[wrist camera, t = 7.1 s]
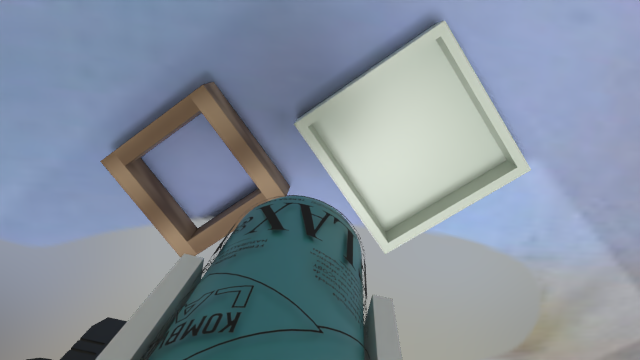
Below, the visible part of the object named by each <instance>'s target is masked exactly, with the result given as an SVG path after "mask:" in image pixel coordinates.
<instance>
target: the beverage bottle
mask: <svg viewBox="0 0 640 360" xmlns="http://www.w3.org/2000/svg"><path fill="white" fill-rule="evenodd" d="M285 196H286V197H281V196H278V197H280V198H276V199H272V200H270V201H267V202H265V203H262V204H260V205H258V206H257V207H255V208H254V209H253V210H251V209H250V208H249V209H250V210H251V211H250V210H249V211H250V212H249V213H248V214H247V215H245V216H244V217H243V219H242V220H241V221H240V223H239V224H238V225H237V227H236V228H235V230H234V231H233V233H232V234H231V236H230V238H229V239H228V240H227V242H226V243H225V245H223V248H222V249H221V251H220V252H219V254H218V256H217V257H216V258H215V260H214V259H213V260H214V262H213V263H211V266H210V267H209V268H208V270H207V269H206V270H207V272H206V273H205V275H204V277H203V278H202V279H201V281H200V282H199V283H198V284H197V285H196V286H197V287H196V286H195V287H196V288H195V287H194V288H195V290H194V291H193V293H192V294H191V296H190V297H189V299H188V300H187V302H186V303H185V305H184V306H182V307H183V308H182V307H181V308H182V309H181V311H180V312H179V314H178V311H179V310H178V311H177V314H176V318H175V320H174V321H173V323H172V324H171V326H170V327H169V329H168V330H167V332H166V333H165V335H164V336H163V338H162V339H161V341H160V342H159V343H158V345H157V346H156V347H155V345H156V344H157V342H158V341H159V339H160V338H159V339H158V340H156V339H157V338H158V337H159V336H160V334H159V333H162V332H159V333H158V334H159V336H158V335H157V336H158V337H157V336H156V337H155V338H156V339H154V340H153V341H155V340H156V341H155V342H156V344H155V345H154V346H153V345H151V346H149V348H150V349H151V347H152V346H153V348H154V347H155V348H154V350H153V348H152V349H151V351H152V350H153V351H152V352H151V351H150V352H151V354H150V352H149V354H150V355H151V356H150V355H149V354H148V355H149V356H150V357H149V359H148V360H365V357H364V349H365V347H364V329H365V327H364V323H363V320H364V318H363V316H364V314H363V310H364V308H363V306H365V305H364V304H363V287H364V286H362V284H363V282H362V281H363V280H362V269H363V266H362V255H361V248H360V244H359V241H358V239H357V236H356V234H355V231H354V230H353V229H352V227H351V226H350V224H349V223H348V222H347V220H346V219H345V218H344V217H343V216H344V215H343V214H342V213H341V212H340V213H341V214H342V215H343V216H342V215H341V214H340V213H339V212H337V211H338V210H337V209H336V210H337V211H336V210H335V208H334V207H333V208H332V206H330V205H328V204H326V203H324V202H322V201H320V200H317V199H314V198H310V197H305V196H297V195H285ZM273 198H275V197H273ZM270 199H271V198H270ZM267 200H268V199H267ZM264 201H265V200H264ZM262 202H263V201H262ZM259 203H260V202H259ZM257 204H258V203H257ZM252 207H253V206H252ZM245 212H246V211H245ZM246 213H247V212H246ZM246 213H245V214H246ZM243 215H244V214H243ZM243 215H242V216H243ZM242 216H241V217H242ZM239 219H240V218H239ZM348 221H349V220H348ZM236 222H237V221H236ZM349 222H350V221H349ZM350 223H351V222H350ZM351 224H352V223H351ZM234 226H235V225H234ZM234 226H233V227H234ZM233 227H232V228H231V230H232V229H233ZM353 227H354V226H353ZM231 230H230V231H229V233H230V232H231ZM229 233H228V234H227V235H226V237H225V238H224V240H223V241H222V243H221V244H220V245H219V247H218V248H217V250H216V251H215V252H214V254H215V253H216V252H217V251H218V249H219V248H221V247H222V244H223V242H224V241H225V239H226V238H227V236H228V235H229ZM208 264H209V263H208ZM208 264H207V265H208ZM207 265H206V266H207ZM365 266H366V265H365V261H364V268H365V272H364V276H365V288H364V290H365V294H366V295H365V296H366V298H367V288H366V267H365ZM204 270H205V268H204V269H203V271H204ZM203 271H202V272H203ZM203 273H204V272H203ZM200 274H202V273H200ZM198 276H199V275H198ZM195 281H196V280H195ZM194 288H193V289H194ZM193 289H192V290H193ZM192 290H191V291H192ZM191 291H190V292H191ZM190 292H189V293H190ZM189 293H188V294H189ZM188 294H187V295H188ZM187 295H186V296H187ZM365 302H366V301H365ZM180 303H181V302H180ZM177 307H178V306H177ZM174 314H175V313H174ZM174 314H173V315H174ZM173 315H172V317H173ZM367 315H368V314H367ZM172 317H171V318H172ZM169 319H170V317H169ZM366 319H367V316H366ZM170 320H171V319H170ZM170 320H169V321H170ZM365 321H366V320H365ZM365 321H364V322H365ZM168 323H169V322H168ZM168 323H167V324H168ZM366 324H367V321H366ZM164 326H165V324H164ZM164 326H163V327H164ZM166 326H167V325H166ZM166 326H165V327H166ZM163 327H162V329H163ZM366 328H368V327H366ZM164 329H165V328H164ZM164 329H163V330H164ZM161 331H162V330H161ZM366 335H367V332H366ZM367 338H368V337H367ZM155 342H153V344H154V343H155ZM150 349H149V350H150ZM149 350H146V351H147V352H148V351H149ZM365 350H366V349H365ZM147 352H146V353H147ZM366 352H367V353H368V351H367V350H366ZM146 353H144V354H146ZM148 355H147V357H148ZM144 356H145V355H144ZM144 356H142V358H143V359H142V360H145V359H146V358H147V357H146V358H145V359H144ZM368 356H369V354H368ZM369 359H370V357H369ZM140 360H141V359H140Z"/></svg>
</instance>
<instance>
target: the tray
mask: <svg viewBox="0 0 640 360" xmlns="http://www.w3.org/2000/svg"><path fill="white" fill-rule="evenodd" d="M294 125H295V126H296V128H297V129H298V131H299V132H300V133H301V135H302V136H303V138H304V139H305V141H306V142H307V143H308V145H309V146H310V148H311V149H312V151H313V152H314V153H315V155H316V156H317V158H318V159H319V161H320V162H321V163H322V165H323V166H324V168H325V169H326V171H327V172H328V173H329V175H330V176H331V178H332V179H333V181H334V182H335V183H336V185H337V186H338V188H339V189H340V190H341V192H342V193H343V195H344V196H345V198H346V199H347V200H348V202H349V203H350V205H351V206H352V208H353V209H354V210H355V212H356V213H357V215H358V216H359V218H360V219H361V220H362V222H363V223H364V225H365V226H366V228H367V229H368V230H369V232H370V233H371V234H372V236H373V237H374V239H375V240H376V242H377V243H378V245H379V246H380V247H381V249H382V250H383V252H384V253H385V254H387V253H388V252H390V251H392V250H393V249H395V248H397V247H399V246H401V245H402V244H404V243H406V242H407V241H409V240H411V239H413V238H414V237H416V236H418V235H420V234H421V233H423V232H425V231H426V230H428V229H430V228H432V227H433V226H435V225H437V224H439V223H440V222H442V221H444V220H445V219H447V218H449V217H451V216H452V215H454V214H456V213H458V212H459V211H461V210H463V209H464V208H466V207H468V206H470V205H471V204H473V203H475V202H477V201H478V200H480V199H482V198H483V197H485V196H487V195H489V194H490V193H492V192H494V191H496V190H497V189H499V188H501V187H502V186H504V185H506V184H508V183H509V182H511V181H513V180H515V179H516V178H518V177H520V176H521V175H523V174H525V173H527V172H528V171H530V170H531V169H530V167H529V165H528V164H527V162H526V160H525V159H524V157H523V155H522V153H521V152H520V150H519V148H518V146H517V145H516V143H515V141H514V139H513V138H512V136H511V134H510V133H509V131H508V129H507V127H506V126H505V124H504V122H503V120H502V119H501V117H500V115H499V113H498V112H497V110H496V108H495V107H494V105H493V103H492V101H491V100H490V98H489V96H488V94H487V93H486V91H485V89H484V87H483V86H482V84H481V82H480V81H479V79H478V77H477V75H476V74H475V72H474V70H473V68H472V67H471V65H470V63H469V61H468V60H467V58H466V56H465V55H464V53H463V51H462V49H461V48H460V46H459V44H458V42H457V41H456V39H455V37H454V35H453V34H452V32H451V30H450V29H449V27H448V25H447V23H446V22H445V21H442V22H438V23H436V24H434V25H433V26H432V27H430V28H429V29H427V30H426V31H424V32H423V33H421V34H420V35H418V36H417V37H416V38H414V39H413V40H411V41H410V42H408V43H407V44H405V45H404V46H402V47H401V48H400V49H398V50H397V51H395V52H394V53H392V54H391V55H389V56H388V57H387V58H385V59H384V60H382V61H381V62H379V63H378V64H376V65H375V66H373V67H372V68H371V69H369V70H368V71H366V72H365V73H363V74H362V75H360V76H359V77H357V78H356V79H355V80H353V81H352V82H350V83H349V84H347V85H346V86H344V87H343V88H341V89H340V90H339V91H337V92H336V93H334V94H333V95H331V96H330V97H328V98H327V99H326V100H324V101H323V102H321V103H320V104H318V105H317V106H315V107H314V108H312V109H311V110H310V111H308V112H307V113H305V114H304V115H302V116H301V117H299V118H298V119H297V120H296V122H295V123H294Z"/></svg>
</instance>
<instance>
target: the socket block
mask: <svg viewBox="0 0 640 360" xmlns="http://www.w3.org/2000/svg"><path fill="white" fill-rule="evenodd" d="M201 113H202V114H203V115H204V116H205V118H206V119H207V120H208V122H209V123H210V124H211V126H212V127H213V128H214V130H215V131H216V132H217V133H218V135H219V136H220V137H221V139H222V140H223V141H224V143H225V144H226V145H227V147H228V148H229V149H230V151H231V152H232V153H233V155H234V156H235V157H236V159H237V160H238V161H239V163H240V164H241V165H242V167H243V168H244V169H245V171H246V172H247V173H248V175H249V176H250V177H251V179H252V180H253V181H254V183H255V184H256V185H257V187H258V189H257V190H255V191H254V192H252V193H251V194H249V195H248V196H246V197H245V198H243V199H242V200H240V201H239V202H237V203H236V204H234V205H233V206H231V207H229V208H228V209H226V210H225V211H223V212H222V213H220V214H219V215H217V216H216V217H214V218H213V219H211V220H210V221H208V222H207V223H205V224H204V225H202V226H201V227H199V228H197V227H196V226H195V225H194V223H193V222H192V221H191V220H190V218H189V217H188V216H187V215H186V214H185V212H184V211H183V210H182V209H181V207H180V206H179V205H178V204H177V202H176V201H175V200H174V199H173V197H172V196H171V195H170V194H169V192H168V191H167V190H166V189H165V188H164V186H163V185H162V184H161V183H160V181H159V180H158V179H157V178H156V176H155V175H154V174H153V173H152V171H151V170H150V169H149V168H148V167H147V165H146V164H145V163H144V162H143V160H142V159H141V157H142V156H143V155H145V154H146V153H147V152H149V151H150V150H152V149H153V148H154V147H156V146H157V145H158V144H160V143H161V142H162V141H164V140H165V139H167V138H168V137H169V136H171V135H172V134H173V133H175V132H176V131H177V130H179V129H180V128H182V127H183V126H184V125H186V124H187V123H188V122H190V121H191V120H192V119H194V118H195V117H197V116H198V115H199V114H201ZM100 162H101V163H102V164H103V165H104V166H105V167H106V169H107V170H108V171H109V172H110V173H111V175H112V176H113V177H114V178H115V179H116V181H117V182H118V183H119V184H120V185H121V187H122V188H123V189H124V190H125V191H126V193H127V194H128V195H129V196H130V197H131V199H132V200H133V201H134V202H135V203H136V205H137V206H138V207H139V208H140V209H141V211H142V212H143V213H144V214H145V215H146V217H147V218H148V219H149V220H150V221H151V223H152V224H153V225H154V226H155V227H156V229H157V230H158V231H159V232H160V233H161V235H162V236H163V237H164V238H165V239H166V241H167V242H168V243H169V244H170V245H171V247H172V248H173V249H174V250H175V251H176V252H177V254H178V255H179V256H180V257H182V256H183V254H188V255H192V256H196V255H197V254H199V253H200V252H202V251H203V250H205V249H206V248H208V247H210V246H211V245H213V244H214V243H216V242H217V241H219V240H220V239H222V238H223V237H225V236H226V235H227V234H228V233H229V231H230V230H231V228H232V227H233V226H234V225H235V226H234V227H233V229H232V230H231V232H233V231H234V230H235V228H236V227H237V225H238V224H239V223H240V221H241V220H242V219H243V217H244V216H245V215H247V214H248V213H249V212H250V211H251V210H253V209H254V208H255V207H257V206H258V205H260V204H262V203H265V202H267V201H270V200H272V199H276V198H280V197H278V196H281V197H286V196H285V195H287V193H288V191H289V188H290V186H289V184H288V183H287V182H286V180H285V179H284V178H283V176H282V175H281V173H280V172H279V171H278V169H277V168H276V167H275V165H274V164H273V162H272V161H271V160H270V158H269V157H268V156H267V154H266V153H265V152H264V150H263V149H262V147H261V146H260V145H259V143H258V142H257V141H256V139H255V138H254V136H253V135H252V134H251V132H250V131H249V130H248V128H247V127H246V126H245V124H244V123H243V121H242V120H241V119H240V117H239V116H238V115H237V113H236V112H235V110H234V109H233V108H232V106H231V105H230V104H229V102H228V101H227V100H226V98H225V97H224V95H223V94H222V93H221V91H220V90H219V89H218V87H217V86H216V85H215V83H214V82H211V83H207V84H203V85H201V86H200V87H199V88H197V89H196V90H195V91H193V92H192V93H191V94H189V95H188V96H187V97H186V98H184V99H183V100H182V101H180V102H179V103H178V104H176V105H175V106H174V107H172V108H171V109H170V110H168V111H167V112H166V113H164V114H163V115H162V116H160V117H159V118H158V119H156V120H155V121H154V122H152V123H151V124H150V125H148V126H147V127H146V128H144V129H143V130H142V131H140V132H139V133H138V134H136V135H135V136H134V137H132V138H131V139H130V140H128V141H127V142H126V143H124V144H123V145H122V146H120V147H119V148H118V149H116V150H115V151H114V152H112V153H111V154H110V155H108V156H107V157H106V158H104V159H103V160H102V161H100ZM273 197H275V198H273ZM270 198H271V199H270ZM267 199H268V200H267ZM264 200H265V201H264ZM262 201H263V202H262ZM259 202H260V203H259ZM257 203H258V204H257ZM252 206H253V207H252ZM249 208H250V209H251V210H250V209H249ZM249 210H250V211H249ZM245 211H246V212H247V213H246V212H245ZM245 213H246V214H245ZM243 214H244V215H243ZM242 215H243V216H242ZM241 216H242V217H241ZM239 218H240V219H239ZM236 221H237V222H236ZM231 232H230V233H231ZM230 233H229V234H230Z"/></svg>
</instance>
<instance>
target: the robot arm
mask: <svg viewBox="0 0 640 360" xmlns="http://www.w3.org/2000/svg"><path fill="white" fill-rule="evenodd" d="M203 261H204V258H202V257H197V256H192V255H188V254H183V256H182V257H181V258H180V259H179V261H178V262H177V263H176V264H175V265H174V267H173V268H172V269H171V270H170V271H169V272H168V274H167V275H166V276H165V277H164V278H163V279H162V281H161V282H160V283H159V284H158V285H157V287H156V288H155V289H154V290H153V291H152V293H151V294H150V295H149V296H148V298H147V299H146V300H145V301H144V302H143V303H142V305H141V306H140V307H139V308H138V309H137V310H136V312H135V313H134V314H133V315H132V316H131V318H130V319H129V320H128V321H122V320H118V319H113V318H106V319H104V320H102V321H101V322H99V323H97V324H95V325H93V326H92V327H91V328H90V329H89V330H88V331H87V332H86V333H85V334H84V335H83V336H82V337H81V339H80V340H79V341H77V343H75V344H74V345H73V347H72V348H71V350H69V351H68V352H67V353H66V354H65V355H64V356H63V357H62V358H61V359H60V360H140V359H141V360H142V359H143V358H142V356H144V355H145V356H144V359H145V358H146V357H147V355H148V354H149V352H150V351H151V349H152V348H153V346H154V345H155V344H156V342H155V341H156V340H158V339H159V338H160V339H159V341H158V342H157V344H156V345H155V347H156V346H157V345H158V343H159V342H160V341H161V339H162V338H163V336H164V335H165V333H166V332H167V330H168V329H169V327H170V326H171V324H172V323H173V321H174V320H175V318H176V314H177V311H178V310H179V311H178V314H179V312H180V311H181V309H182V308H183V307H182V306H184V305H185V303H186V302H187V300H188V299H189V297H190V296H191V294H192V293H193V291H194V290H195V288H196V287H197V286H196V285H197V284H198V283H199V282H200V281H201V276H202V274H200V273H202V268H203ZM198 275H199V276H198ZM195 280H196V281H195ZM195 286H196V287H195ZM194 287H195V288H194ZM193 288H194V289H193ZM192 289H193V290H192ZM191 290H192V291H191ZM190 291H191V292H190ZM189 292H190V293H189ZM188 293H189V294H188ZM187 294H188V295H187ZM186 295H187V296H186ZM180 302H181V303H180ZM177 306H178V307H177ZM181 307H182V308H181ZM174 313H175V314H174ZM173 314H174V315H173ZM367 314H368V315H367V319H366V321H367V324H366V321H365V324H364V327H365V329H364V347H365V349H366V350H367V351H368V353H367V352H366V350H365V349H364V357H365V360H402V354H401V348H400V342H399V336H398V330H397V324H396V318H395V311H394V305H393V299H391V298H386V297H381V296H377V295H372V298H371V302H370V306H369V309H368V313H367ZM172 315H173V317H172ZM169 317H170V319H171V320H170V319H169ZM171 317H172V318H171ZM169 320H170V321H169ZM168 322H169V323H168ZM167 323H168V324H167ZM164 324H165V326H166V325H167V326H166V327H165V326H164ZM163 326H164V327H163ZM162 327H163V329H164V328H165V329H164V330H163V329H162ZM366 327H368V328H366ZM161 330H162V331H161ZM159 332H162V333H159ZM366 332H367V335H366ZM158 333H159V334H160V336H159V334H158ZM157 335H158V336H159V337H158V336H157ZM156 336H157V337H158V338H157V339H156V338H155V337H156ZM367 337H368V338H367ZM154 339H156V340H155V341H153V340H154ZM153 342H155V343H154V344H153ZM151 345H153V346H152V347H151V349H150V348H149V346H151ZM155 347H154V348H155ZM154 348H153V350H154ZM149 349H150V350H149ZM146 350H149V351H148V352H147V351H146ZM153 350H152V351H153ZM152 351H151V352H152ZM146 352H147V353H146ZM151 352H150V354H151ZM144 353H146V354H144ZM150 354H149V355H150ZM368 354H369V356H368ZM149 355H148V357H147V358H146V359H145V360H148V359H149V357H150V356H151V355H150V356H149ZM369 357H370V359H369ZM27 360H51V359H45V358H35V359H27Z"/></svg>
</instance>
